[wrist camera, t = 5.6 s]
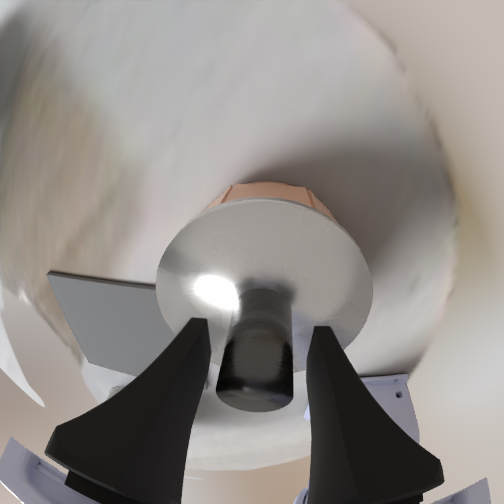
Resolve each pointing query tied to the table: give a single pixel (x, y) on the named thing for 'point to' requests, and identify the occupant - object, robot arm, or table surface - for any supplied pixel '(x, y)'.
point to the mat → (113, 321)
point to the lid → (263, 291)
